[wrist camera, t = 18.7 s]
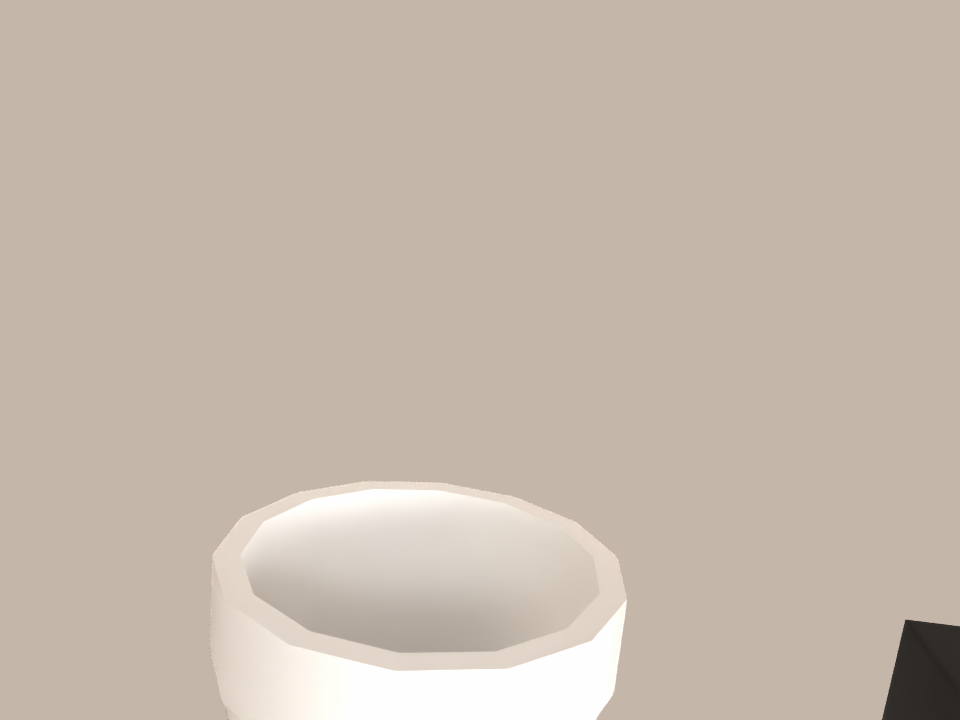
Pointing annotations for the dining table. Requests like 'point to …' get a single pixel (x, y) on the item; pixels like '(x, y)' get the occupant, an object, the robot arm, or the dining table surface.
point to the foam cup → (413, 608)
